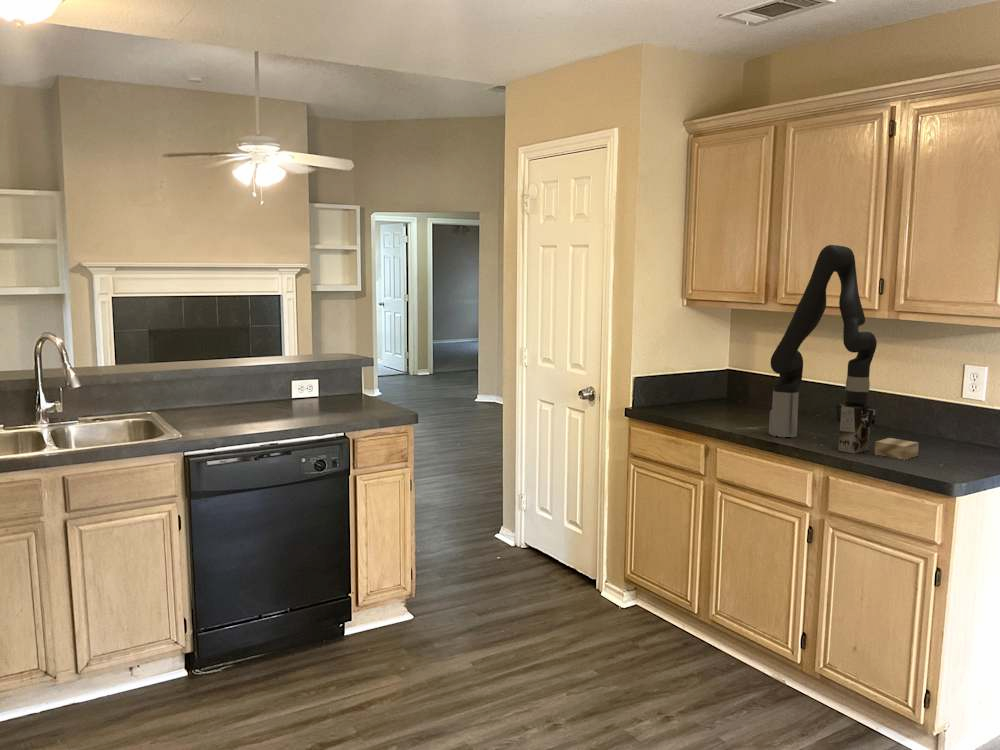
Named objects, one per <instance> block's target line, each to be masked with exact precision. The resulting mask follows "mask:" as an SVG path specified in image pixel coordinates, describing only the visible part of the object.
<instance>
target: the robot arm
mask: <svg viewBox="0 0 1000 750" xmlns="http://www.w3.org/2000/svg"><path fill="white" fill-rule="evenodd" d="M855 259H856V258H855V254H854V252H853V250H852V249H851V248H850V247H847V246H843V245H837V244H829V245H825V247H823V248H822V249H821V251H820V252H819V254H818V257H817V259H816V262H815V264H814V266H813V270H812V273H811V275H810V279H809V281H808V283H807V286H806V288H805V289H804V293H803V294H802V297H801V298H800V300H799V303H798V304H797V306H796V309H795V311H794V313H793V315H792V318H791V320H790V321H789V324H788V326H787V328H786V331H785V333H784V335H783V336H782V338H781V340H780V341H779V343H778V345H777V347H776V348H775V350H774V352H773V353H772V356H771V357H770V367H771V370H772V371H773V372H774V373H776V374H779V376H778V379H777V380H776V381H775V382H774V383H773V384H772V385H773V386H772V388H773V389H772V406H771V408H772V409H770V410H769V421H768V423H769V424H768V434H769V435H771V436H773V437H776V436H778V438H785V437H791V438H796V437H797V433H798V431H797V429H798V413H799V391H800V386H801V385H802V380H803V371H804V359H803V356H802V353H801V352H800V351H799V349H800V346H801V345H802V343H803V342H804V341H805V340H806V339H807V337H809V336H810V334H812V332H813V331H814V330H815V329H816V328H817V326H818V325H819V323H820V321H821V319H822V317H823V315H824V312H825V310H826V309H827V308H826V307H827V288H828V284H829V282H830V280H831V277H832V275H833V274H834V272H835V273H837V276H838V278H839V281H840V294H839V303H838V306H839V311H840V314H841V318H842V323H843V327H842V328H843V329H842V330H843V332H842V333H843V335H842V336H843V337H842V338H843V339H842V340H843V345H844V348H845V349H846V350H847V351H848V352H850V353H857V355H856V357H854V358H852V359H849V361H848V363H847V373H846V380H845V395H844V401H845V404H843V403H840V404H837V405H836V421H837V422H839V423H840V420H841V406H845V405H850V406H859V407H863V415H864V414H866V413H867V412H868V415H869V416H868V418H867V416H866V418H864V419H863V418H861V421H862V427H863V428H862V433H861V438H867V437H868V430H869V427H870V428H871V427H875V425H876V419H877V418H876V417H877V409H872V408H871V409H869V408H868V405H869V401H870V400H869V399H870V385H871V384H870V382H871V381H870V370H871V364H872V361H873V360H874V359H873V358H874V355H875V354H876V353H875V352H876V350H877V338H876V335H875V334H874V333H872V332H870V331H859V327H860V326H862V325H864V324H865V323H866V317H865V313H864V309H863V306H862V302H861V298H860V294H859V286H858V277H857V267H856V260H855Z"/></svg>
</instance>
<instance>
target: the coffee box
mask: <svg viewBox="0 0 1000 750" xmlns="http://www.w3.org/2000/svg"><path fill="white" fill-rule="evenodd" d="M844 405H845V404H844ZM868 408H869V409H872V405H869V404H868ZM866 416H867V418H868V416H869V415H868V412H867V413H866V414H864V415H863V407H859V406H850V405H845V406H841V420H840V422H839V436H838V437H839V438H838V451H840V452H844V453H849V454H853V455H856V454H859V452H860V453H864V452H868V451H869V448H870V447H869V445H870V431H871V427H869V430H868V437H867V438H861V433H862V428H863V427H862V421H861V418H863V419H864V418H866ZM867 450H868V451H867ZM863 451H864V452H863ZM855 453H856V454H855Z"/></svg>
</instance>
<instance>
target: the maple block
mask: <svg viewBox="0 0 1000 750" xmlns="http://www.w3.org/2000/svg"><path fill="white" fill-rule="evenodd" d="M919 445H920V443H919V442H917V441H910V440H905V439H901V438H900V439H898V438H892V437H887V438H883V439H880V440H877V441H875V442H874V455H875V454H876V455H875V456H877V455H882V456H881V457H883V456H888V457H893V458H892V459H894V458H898V459H897V460H899V459H904V460H903V461H906V460H905V459H907V460H909V459H908V458H910V459H912V458H911V457H914V458H916V457H915V456H917V457H918V456H919ZM888 457H887V458H888Z"/></svg>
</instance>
